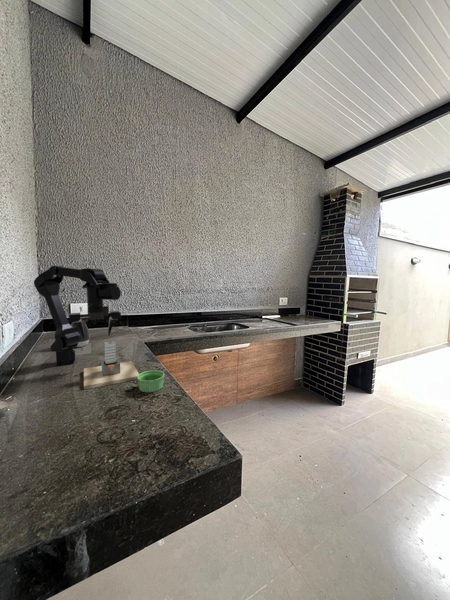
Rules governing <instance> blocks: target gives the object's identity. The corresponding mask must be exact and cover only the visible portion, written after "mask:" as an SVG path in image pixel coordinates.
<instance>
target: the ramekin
mask: <svg viewBox="0 0 450 600" xmlns="http://www.w3.org/2000/svg"><path fill="white" fill-rule="evenodd" d="M164 378H165V373H164V371H162V370H157V369H156V370H154V369H151V370H146V371H145V370H144V371H143V372H140V373H139V375H138V376H137V379H136V380H137V383H138V390H139V391H140V392H143V393H154V392H157V391H160V390H161V389H162V388H163V387H164Z"/></svg>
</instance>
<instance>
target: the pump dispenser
mask: <svg viewBox="0 0 450 600" xmlns="http://www.w3.org/2000/svg"><path fill="white" fill-rule="evenodd" d="M81 320H82V325H83V330H84V338H83V336H82V334H81V332H80V329H79V328H78V326H77V325H76V324H73V322H71V324H70V325H71V326H72V327H77V330H78V333H79V334H80V335H79V337H80V340H79V341H78V345H77V347H76V348H83V347H85V346H87V345H88V343H89V342H90V339H91V336H90V331H89V328H88V326H87V324H86V323H87V322H88V321H89V319H81Z"/></svg>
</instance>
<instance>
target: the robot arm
mask: <svg viewBox="0 0 450 600" xmlns="http://www.w3.org/2000/svg"><path fill="white" fill-rule="evenodd" d="M64 277H69V278H74V279H79V280H80V281H82V282H84V284H83V285H82V286H81V288H82V289H86V299H87V300H86V303H87V304H86V305H87V313H85V314H81V312H73V313H72V312H70V314H68V317H67V314H66V311H65V308H64V307H63V303H62V301H61V299H60V296H59V293H60V289H61V286H60V284H61V283H62V282H63V279H64ZM33 285H34V287H35V289H36V291H37V293H39V295H41V296H42V297H43V298H44V299H45V301H46V304H47V307H48V310H49V312H50V315H51V317H52V321H53V323H54V326H55V332H54V341H53V343H52V344H51V345H50V350H51V352H53V353H54V352H55V362H56V363H55V367H59V366H64V365H73V364H74V363H75V361H76V350H74V348H78V347H77V345H78V341H79V340H80V337H79V335H80V334H79V333H78V330H77V327H72V326H71V324H70V323H72V322H73V324H76V325H77V326H78V328H79V329H80V332H81V334H82V336H83V338H84V330H83V325H82V320H86V319H88V320H89V321H90V320H91V321H94V320H103V319H106V318H108V327H107V328H108V329H107V335H108V337H109V336H110V335H111V332H112V329H113V327H114V324H115V322H117V321H119V320H121V319H122V313H121V312H120V310H110V311H109V305H107V306H104V300H105V301H117V300H119V299H120V298H121V295H122V292H121V290H120V287H119V286H118V283H117V282H110V280H109V279H108V277H107V276H106V273H105V272H104V270H103V269H102V268H89V267H88V268H87V267H86V268H74V267H66V266H63V265H52V266H50V267H49V268H48V269H47V270H44V271H43V272H41V273H39V274H38V276H37V277H35V279H34V280H33ZM81 319H82V320H81Z"/></svg>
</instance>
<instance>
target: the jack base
mask: <svg viewBox="0 0 450 600" xmlns="http://www.w3.org/2000/svg"><path fill="white" fill-rule="evenodd" d="M100 361H101V360H100ZM139 374H140V373H139V372H138V370H137V367H135V365H134V363H133V361H131V360H129V361H124V362H120V360H119V359H118V358H116V362H114V363H108V364H106V363H105V360H102V361H101V365H97V366H92V367H91V366H90V367H85V368H83V390H88V389H93V388H94V389H95V388H100V387H103V386H110V385H115V384H121V383H124V382H130V381H131V382H132V381H136V380H137V376H138V375H139Z"/></svg>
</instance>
